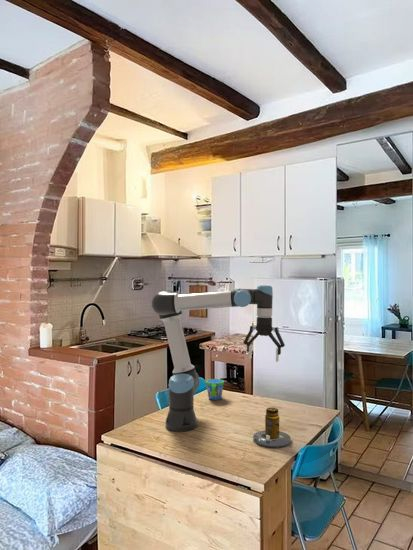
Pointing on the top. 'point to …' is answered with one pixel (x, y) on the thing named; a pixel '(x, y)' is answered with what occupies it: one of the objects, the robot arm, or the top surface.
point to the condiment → (271, 424)
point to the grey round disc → (274, 443)
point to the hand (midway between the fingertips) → (263, 359)
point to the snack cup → (214, 388)
